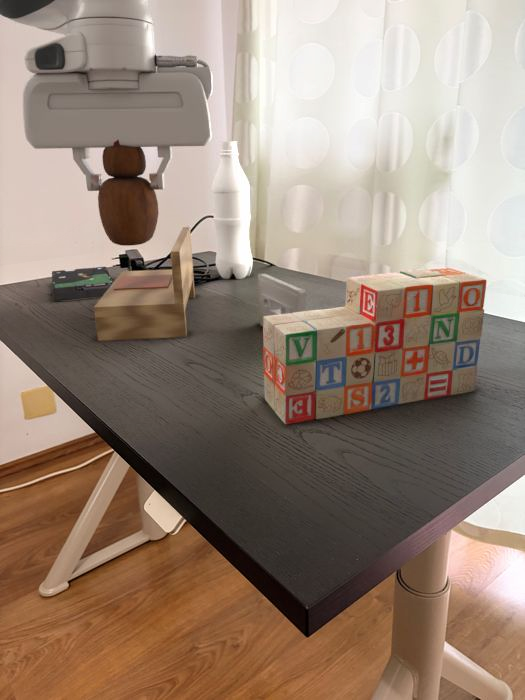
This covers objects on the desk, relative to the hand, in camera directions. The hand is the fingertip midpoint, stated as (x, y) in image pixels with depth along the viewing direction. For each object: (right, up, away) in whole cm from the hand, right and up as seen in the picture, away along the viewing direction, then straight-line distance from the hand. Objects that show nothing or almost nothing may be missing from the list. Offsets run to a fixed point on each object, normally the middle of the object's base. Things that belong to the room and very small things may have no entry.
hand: (126, 189), depth 67 cm
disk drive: (-17, -8, +40) cm, 45 cm away
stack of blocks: (+27, -23, -6) cm, 36 cm away
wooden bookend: (-1, -13, +23) cm, 27 cm away
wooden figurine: (0, -6, +2) cm, 6 cm away
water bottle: (+10, -4, +47) cm, 49 cm away
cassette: (+18, -17, +13) cm, 28 cm away
